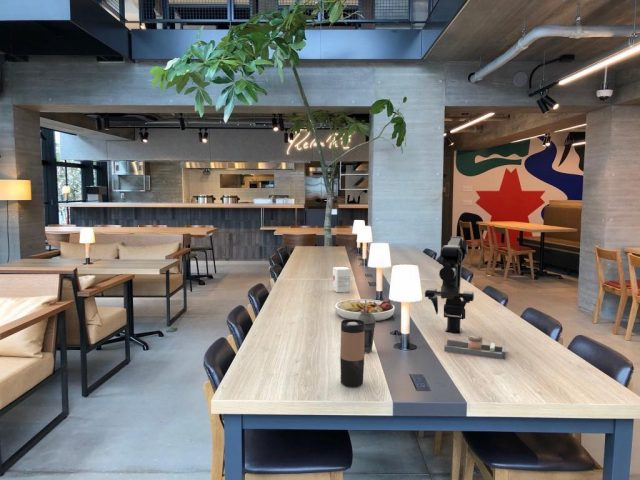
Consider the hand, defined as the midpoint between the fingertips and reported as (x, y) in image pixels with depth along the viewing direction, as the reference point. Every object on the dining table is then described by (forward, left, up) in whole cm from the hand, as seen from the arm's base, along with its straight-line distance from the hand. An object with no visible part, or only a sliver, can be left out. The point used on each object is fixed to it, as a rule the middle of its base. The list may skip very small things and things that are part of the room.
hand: (448, 315), depth 183 cm
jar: (+5, +11, -12) cm, 17 cm away
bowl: (-30, -45, -13) cm, 56 cm away
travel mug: (+53, -23, -12) cm, 59 cm away
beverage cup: (+22, -28, -12) cm, 38 cm away
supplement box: (-79, -76, -12) cm, 110 cm away
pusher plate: (+5, +18, -12) cm, 22 cm away
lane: (+5, +11, -12) cm, 17 cm away
